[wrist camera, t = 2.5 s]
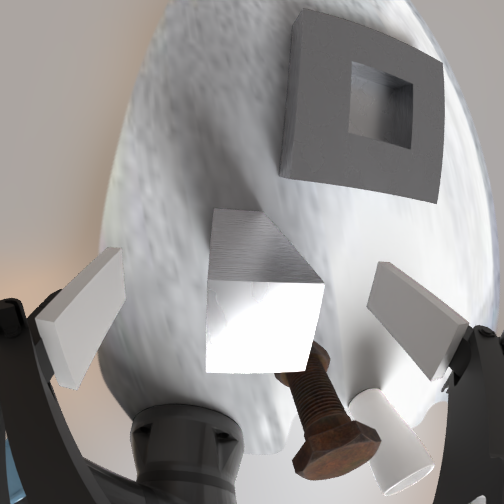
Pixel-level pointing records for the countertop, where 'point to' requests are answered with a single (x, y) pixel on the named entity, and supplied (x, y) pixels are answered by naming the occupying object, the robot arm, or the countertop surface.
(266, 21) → the countertop surface
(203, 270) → the countertop surface
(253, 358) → the peg
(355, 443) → the bolt
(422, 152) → the socket block
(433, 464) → the drinking glass
